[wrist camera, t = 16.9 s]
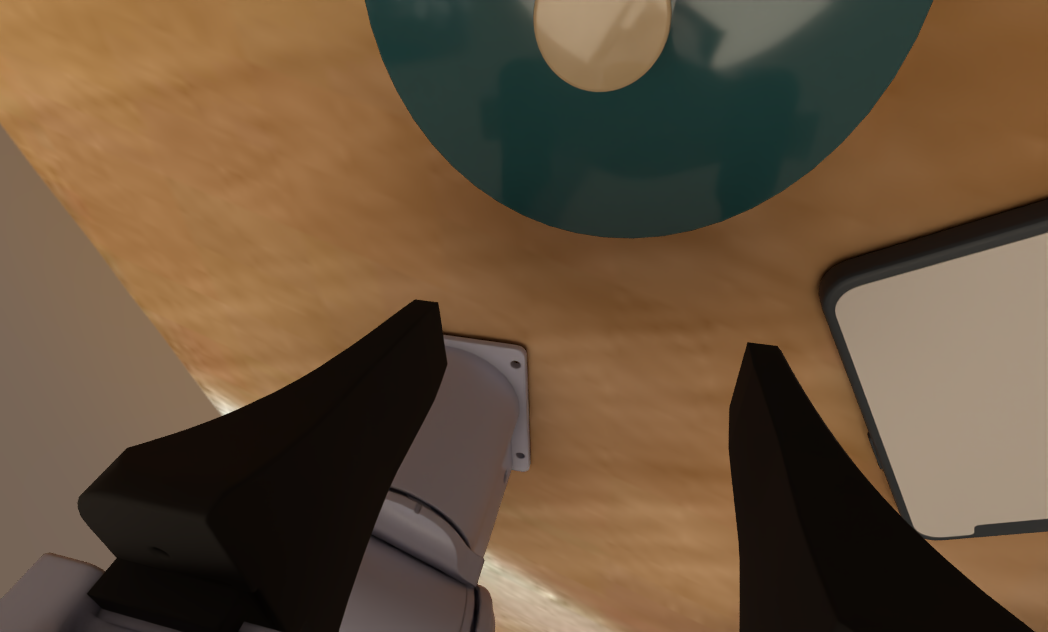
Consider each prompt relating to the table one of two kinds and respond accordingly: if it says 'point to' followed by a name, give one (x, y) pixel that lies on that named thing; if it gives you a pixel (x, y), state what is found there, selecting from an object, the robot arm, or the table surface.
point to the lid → (640, 98)
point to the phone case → (953, 371)
